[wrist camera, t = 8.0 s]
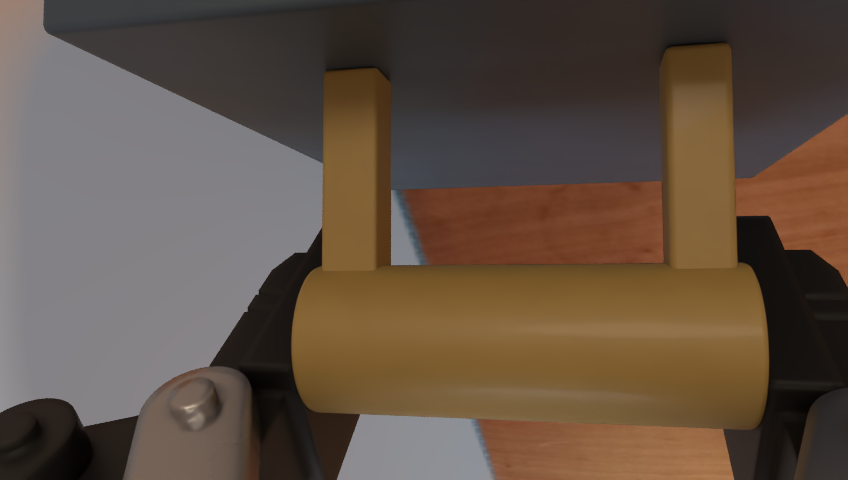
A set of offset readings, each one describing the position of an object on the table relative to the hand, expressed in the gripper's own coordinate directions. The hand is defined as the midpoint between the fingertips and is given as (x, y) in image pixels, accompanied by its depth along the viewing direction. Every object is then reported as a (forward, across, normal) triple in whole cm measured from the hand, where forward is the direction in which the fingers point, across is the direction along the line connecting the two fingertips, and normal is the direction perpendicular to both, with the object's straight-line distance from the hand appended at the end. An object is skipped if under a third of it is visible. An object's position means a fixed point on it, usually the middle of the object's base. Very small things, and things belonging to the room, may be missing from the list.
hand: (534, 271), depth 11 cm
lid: (+3, 0, -2) cm, 3 cm away
